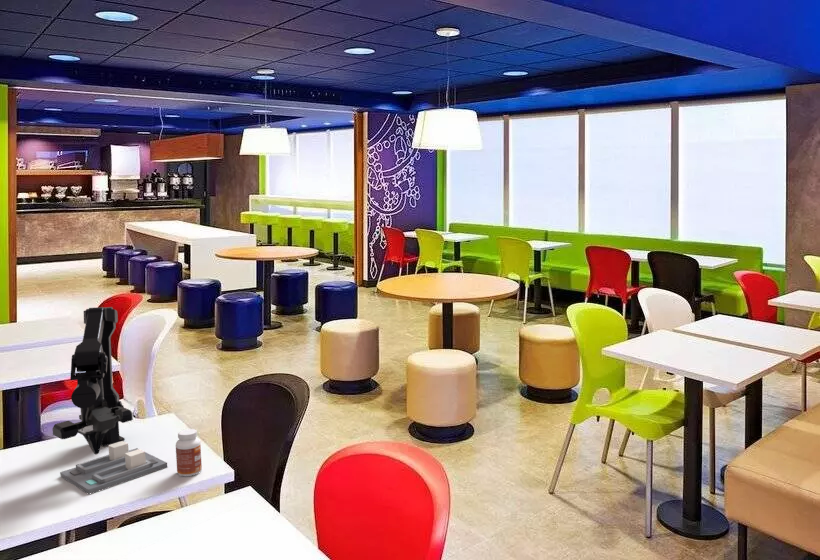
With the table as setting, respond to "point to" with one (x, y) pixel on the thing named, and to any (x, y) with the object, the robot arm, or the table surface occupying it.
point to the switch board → (108, 472)
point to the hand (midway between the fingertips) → (96, 453)
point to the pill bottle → (188, 453)
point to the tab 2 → (135, 458)
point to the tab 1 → (118, 450)
